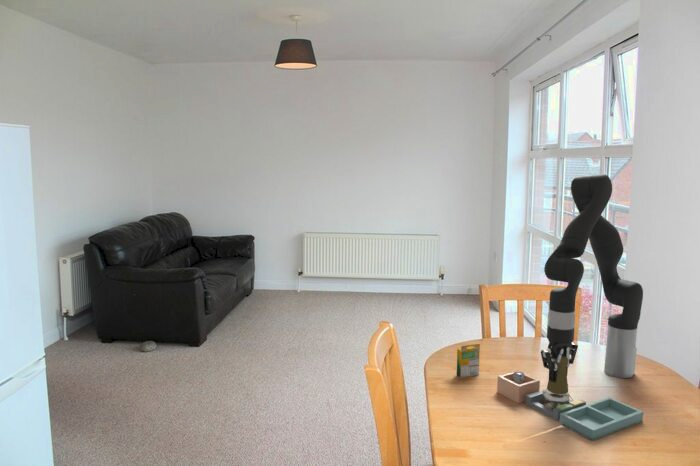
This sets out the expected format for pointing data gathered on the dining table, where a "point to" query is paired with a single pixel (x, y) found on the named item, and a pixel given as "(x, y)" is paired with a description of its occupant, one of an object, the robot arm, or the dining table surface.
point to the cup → (517, 387)
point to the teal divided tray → (601, 418)
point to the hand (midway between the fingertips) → (557, 379)
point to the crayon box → (468, 360)
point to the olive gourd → (559, 378)
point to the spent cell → (518, 377)
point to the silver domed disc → (555, 398)
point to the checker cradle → (536, 399)
